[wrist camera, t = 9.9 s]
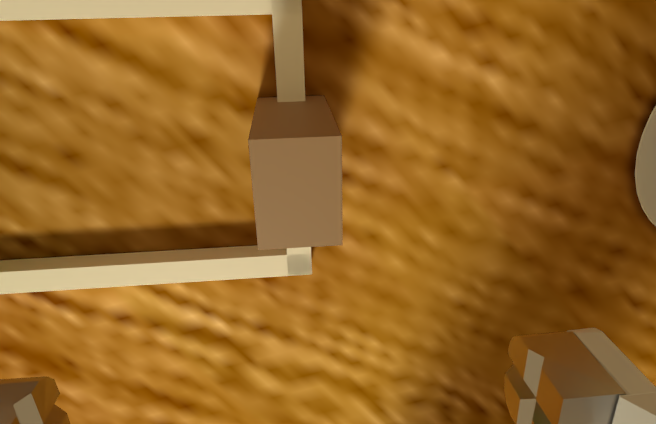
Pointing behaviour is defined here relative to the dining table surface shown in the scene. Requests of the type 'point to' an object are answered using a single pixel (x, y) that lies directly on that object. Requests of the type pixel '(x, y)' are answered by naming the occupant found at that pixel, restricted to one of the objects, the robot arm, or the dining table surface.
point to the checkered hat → (647, 169)
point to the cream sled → (265, 159)
